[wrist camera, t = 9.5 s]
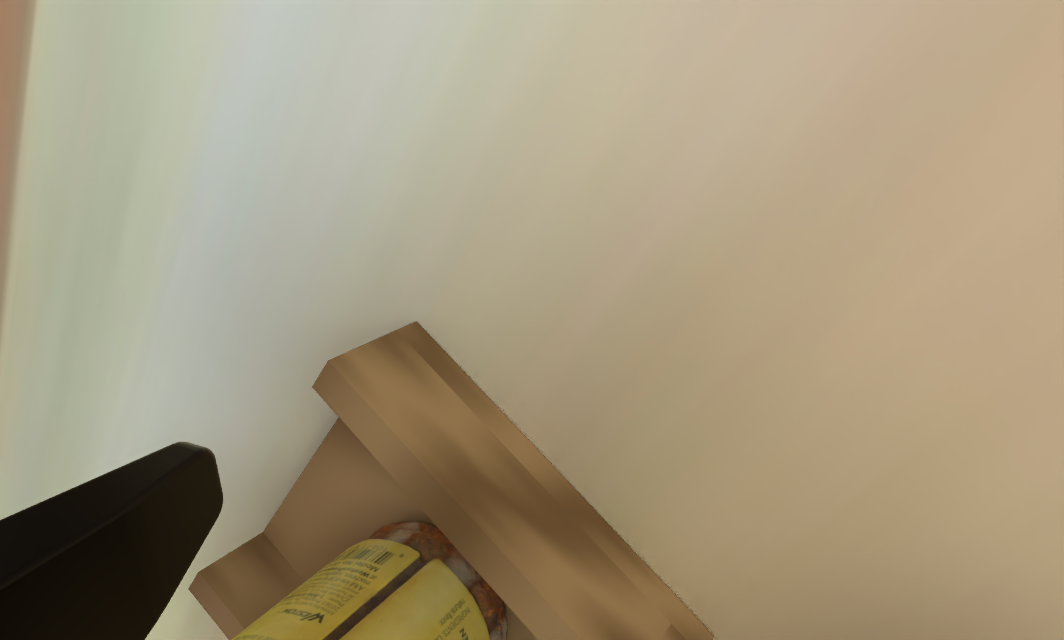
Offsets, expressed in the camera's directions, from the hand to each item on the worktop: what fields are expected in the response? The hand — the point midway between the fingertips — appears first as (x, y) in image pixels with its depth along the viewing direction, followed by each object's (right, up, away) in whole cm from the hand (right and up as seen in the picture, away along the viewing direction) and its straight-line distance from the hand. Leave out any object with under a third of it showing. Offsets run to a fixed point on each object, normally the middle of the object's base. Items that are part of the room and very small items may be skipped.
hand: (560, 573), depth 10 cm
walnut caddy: (-3, -6, +20) cm, 22 cm away
